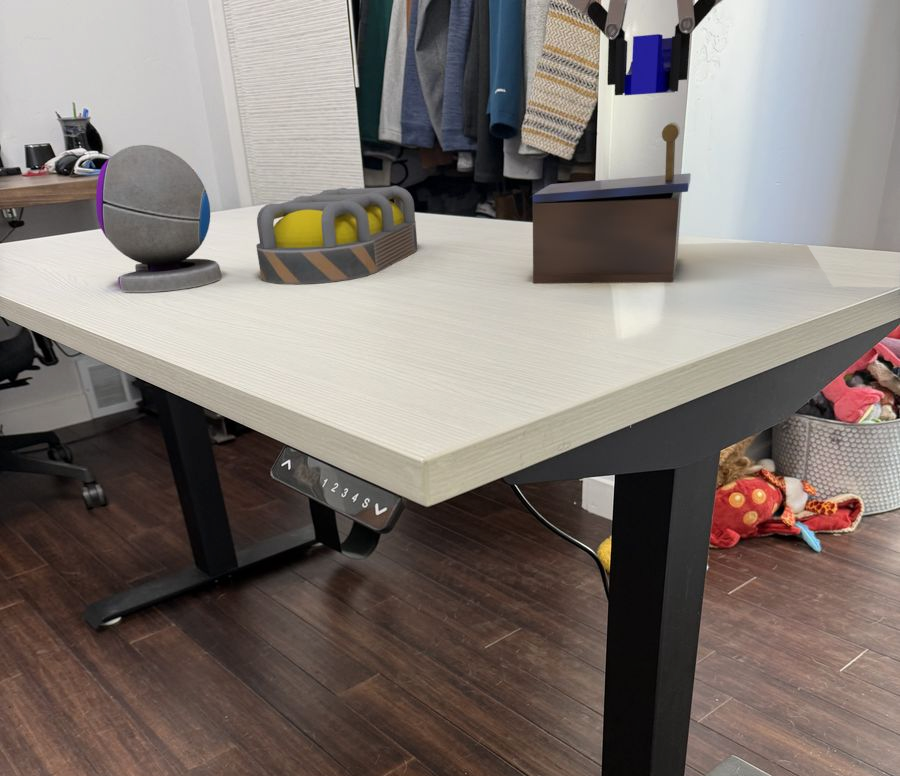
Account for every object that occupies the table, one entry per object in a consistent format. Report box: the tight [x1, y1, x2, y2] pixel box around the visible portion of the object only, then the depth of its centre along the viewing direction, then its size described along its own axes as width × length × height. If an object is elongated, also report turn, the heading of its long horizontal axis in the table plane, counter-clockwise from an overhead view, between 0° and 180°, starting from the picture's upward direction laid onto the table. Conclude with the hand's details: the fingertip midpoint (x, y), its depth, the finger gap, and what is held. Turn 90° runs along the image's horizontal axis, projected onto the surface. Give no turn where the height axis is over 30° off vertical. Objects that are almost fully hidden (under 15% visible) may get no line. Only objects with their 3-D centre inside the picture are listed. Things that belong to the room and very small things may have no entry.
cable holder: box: [623, 33, 673, 97], centre depth 72 cm, size 8×4×4 cm, turn 156°
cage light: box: [256, 185, 418, 285], centre depth 110 cm, size 15×8×30 cm
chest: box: [532, 192, 683, 284], centre depth 93 cm, size 15×12×8 cm
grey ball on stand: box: [95, 144, 222, 293], centre depth 102 cm, size 13×13×15 cm
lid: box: [532, 122, 692, 204], centre depth 90 cm, size 15×12×6 cm
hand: (646, 90), depth 73 cm, fingers closed on cable holder, 3 cm apart
